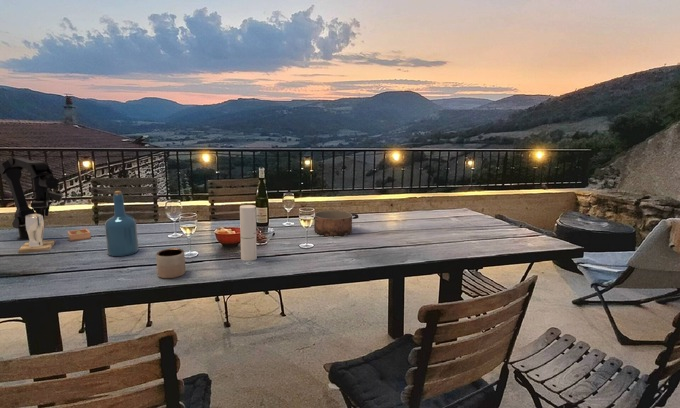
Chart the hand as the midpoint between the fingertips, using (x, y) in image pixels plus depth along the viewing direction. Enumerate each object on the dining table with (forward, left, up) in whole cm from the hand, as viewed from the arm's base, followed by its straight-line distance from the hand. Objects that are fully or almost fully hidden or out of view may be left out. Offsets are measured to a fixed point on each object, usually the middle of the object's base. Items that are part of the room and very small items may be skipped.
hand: (44, 217), depth 198 cm
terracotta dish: (-4, +13, -13) cm, 19 cm away
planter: (+69, +54, -13) cm, 89 cm away
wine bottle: (+31, +35, -13) cm, 49 cm away
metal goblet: (+9, -3, -12) cm, 15 cm away
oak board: (+7, -3, -13) cm, 15 cm away
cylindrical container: (+62, +88, -13) cm, 108 cm away
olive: (-4, +13, -11) cm, 17 cm away
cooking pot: (+34, +145, -14) cm, 149 cm away
